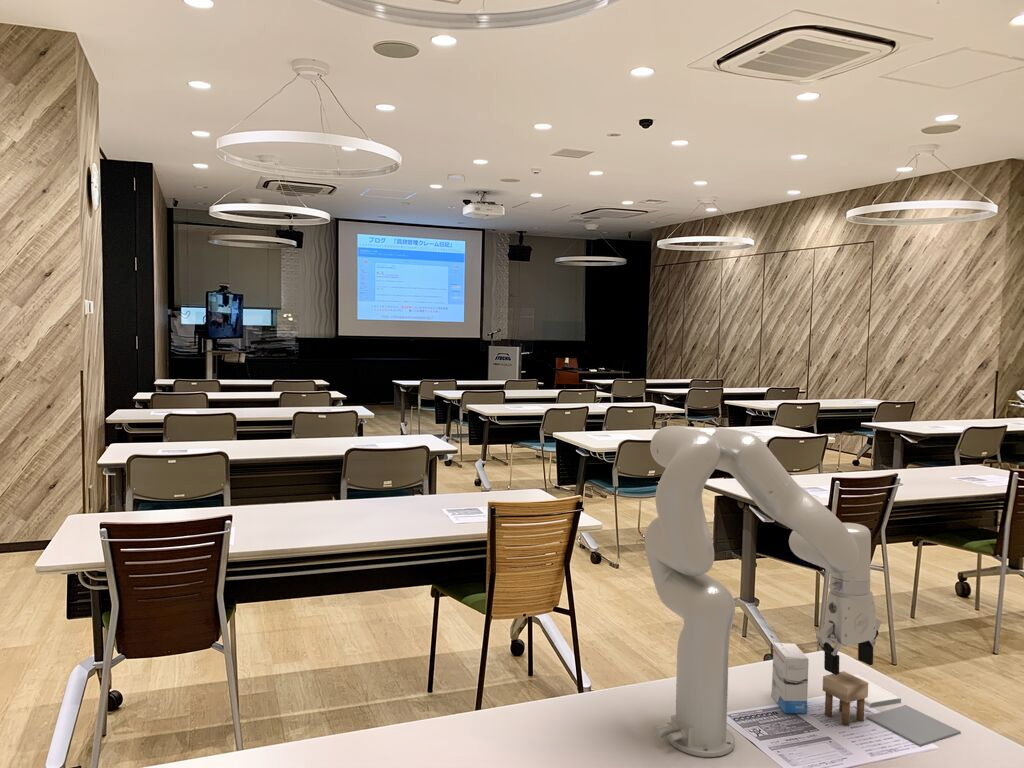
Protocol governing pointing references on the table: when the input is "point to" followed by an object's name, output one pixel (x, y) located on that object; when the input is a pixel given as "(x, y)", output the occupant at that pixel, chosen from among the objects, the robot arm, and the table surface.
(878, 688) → the external hard drive
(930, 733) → the mat
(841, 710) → the stool
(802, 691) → the ink box
